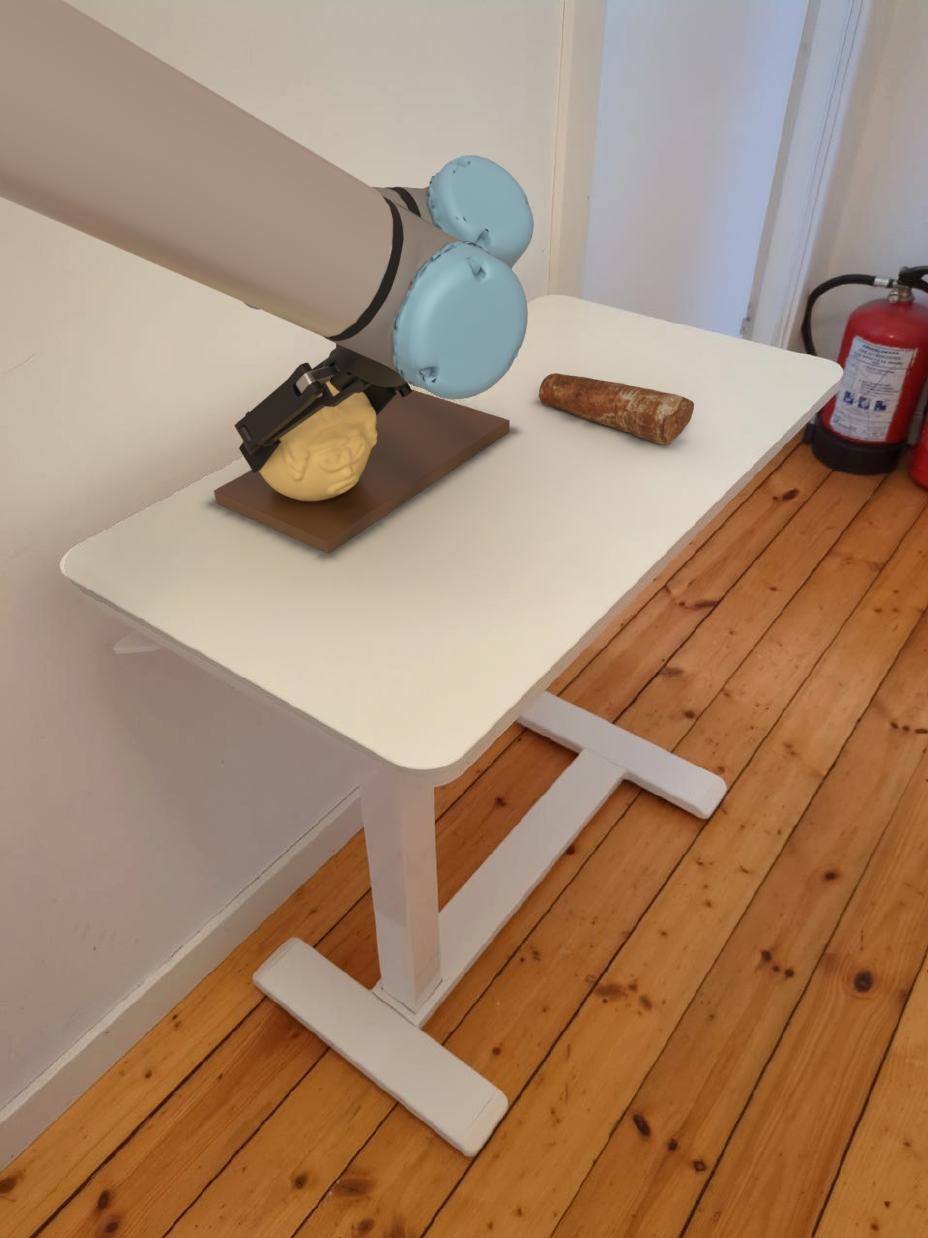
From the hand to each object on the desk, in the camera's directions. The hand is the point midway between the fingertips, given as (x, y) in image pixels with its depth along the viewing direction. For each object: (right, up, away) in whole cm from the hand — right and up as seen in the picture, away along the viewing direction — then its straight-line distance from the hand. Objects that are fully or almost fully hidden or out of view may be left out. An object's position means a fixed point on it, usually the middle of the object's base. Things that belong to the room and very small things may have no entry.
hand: (307, 434), depth 88 cm
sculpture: (0, -5, +4) cm, 6 cm away
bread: (+32, +4, +16) cm, 36 cm away
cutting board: (+5, -1, +9) cm, 11 cm away
